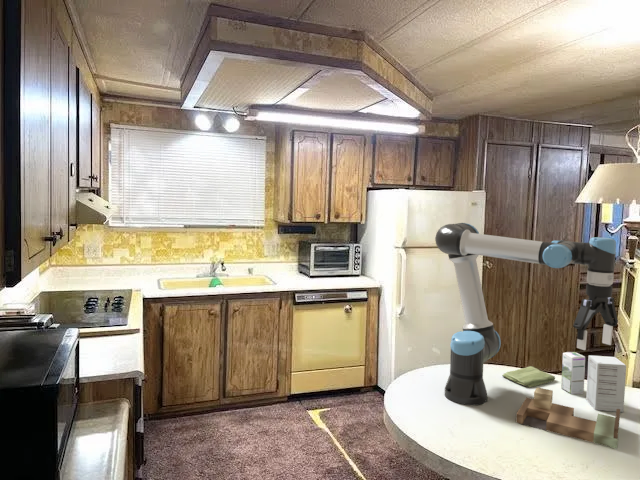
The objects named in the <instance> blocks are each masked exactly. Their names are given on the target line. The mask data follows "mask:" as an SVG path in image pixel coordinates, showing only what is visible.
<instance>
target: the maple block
mask: <svg viewBox="0 0 640 480" xmlns="http://www.w3.org/2000/svg"><path fill="white" fill-rule="evenodd" d="M553 395H554V393H553V389H547V388H543V387H539V386H538V387H537V386H536V388H535V390H534V391H533V399H534V406H535V407H539V408H543V409H547V410H550V408H551V406H552V403H553Z"/></svg>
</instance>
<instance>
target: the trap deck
mask: <svg viewBox="0 0 640 480" xmlns="http://www.w3.org/2000/svg"><path fill="white" fill-rule="evenodd" d="M574 415H575V408H574V407H571V406H566V405H563V404H557V403H554V402H552V406H551V408H550V410H547V409H543V408H539V407H535V406H534V398H531V397H527V396H526V397H525V399H524V401H523V402H522V404H521V405H520V407H519V409H518V411H517V412H516V414H515V423H516V424H519V425H523V426H527V427H532V428H535V429H539V430H543V431H545V432H550V433H554V434H559V435H562V436H566V437H569V438H570V437H571V438H574V439H577V440H578V439H579V440H582V441H585V442H590V443H594V444H597V445H601V446H604V447H609V448H612V449H616V450H617V449H618V440H619V433H620V432H619V431H620V419H621V412H620V409H616V412H615V417H614V416H611V415H606V414H601V413H597V417H596V421H595V420H594V419H593V420H592V419H588V418H583V417H580V416H579V417H578V416H574Z"/></svg>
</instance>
